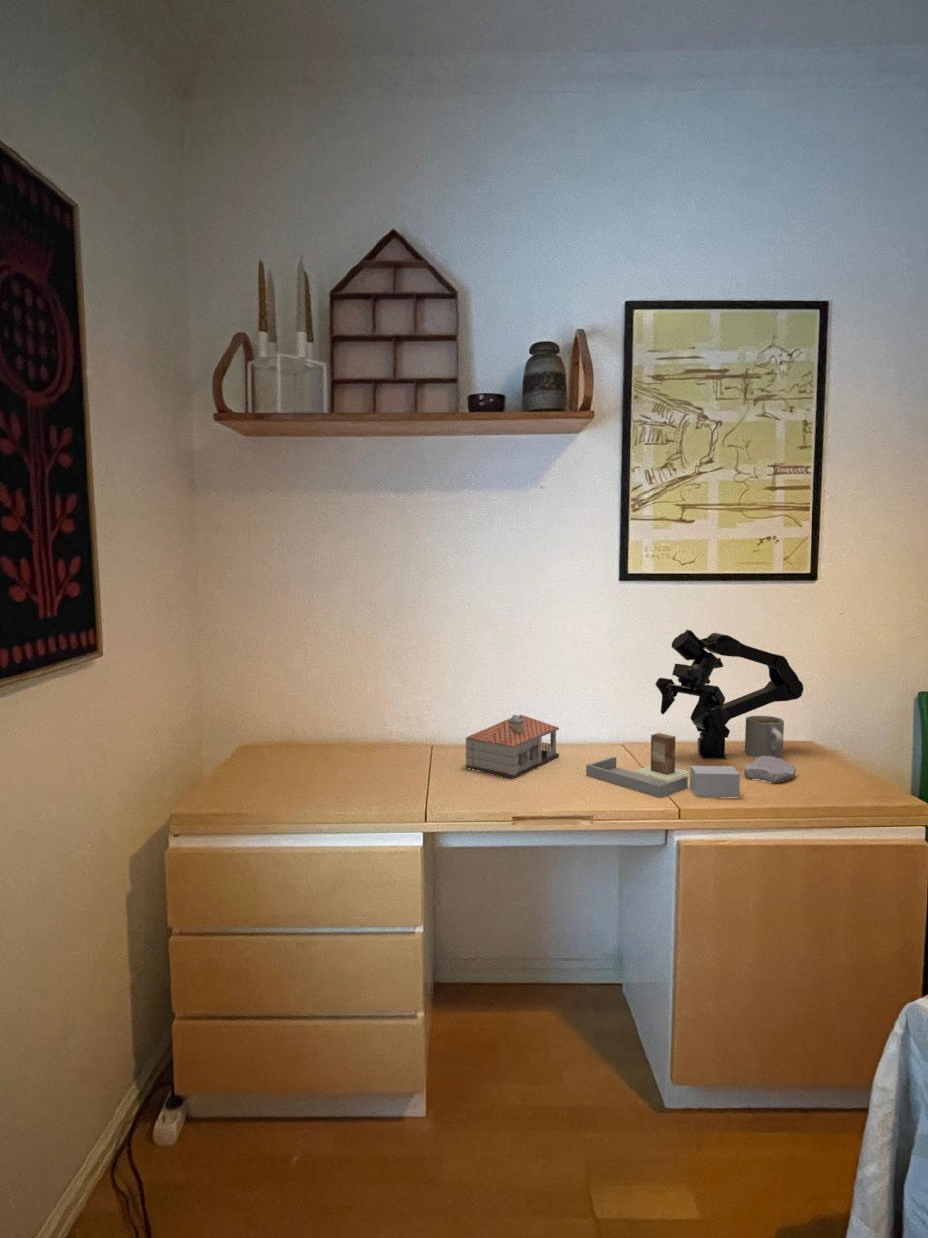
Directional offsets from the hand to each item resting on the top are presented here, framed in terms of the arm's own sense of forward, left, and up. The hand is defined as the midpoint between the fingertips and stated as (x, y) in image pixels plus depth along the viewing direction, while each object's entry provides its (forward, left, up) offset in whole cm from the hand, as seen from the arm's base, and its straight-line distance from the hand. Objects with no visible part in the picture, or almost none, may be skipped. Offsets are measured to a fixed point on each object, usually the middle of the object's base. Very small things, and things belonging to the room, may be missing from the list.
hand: (676, 716), depth 193 cm
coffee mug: (-27, -11, -14) cm, 32 cm away
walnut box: (+5, +6, -13) cm, 15 cm away
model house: (+44, 0, -14) cm, 46 cm away
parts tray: (+13, +14, -14) cm, 23 cm away
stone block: (-22, +8, -14) cm, 28 cm away
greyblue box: (-5, +22, -14) cm, 26 cm away
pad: (+5, +6, -14) cm, 16 cm away
